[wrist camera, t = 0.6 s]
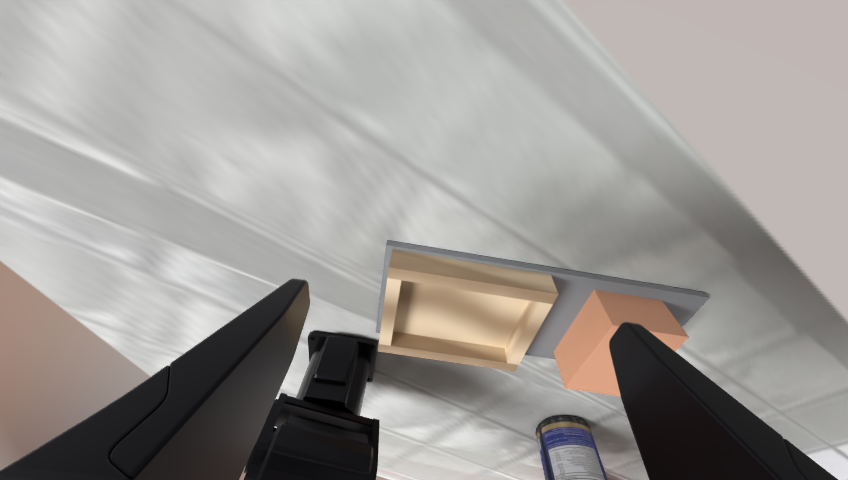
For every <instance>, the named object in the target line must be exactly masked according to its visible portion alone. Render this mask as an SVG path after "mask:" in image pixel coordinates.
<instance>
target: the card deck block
mask: <svg viewBox="0 0 848 480" xmlns="http://www.w3.org/2000/svg"><path fill="white" fill-rule="evenodd" d="M623 322H631V323H638V324H640V325H642V326H643V327H644V328H646V329H647V330H648V331H649V332H651V333H652V334H653V335H654V336H656V337H657V338H658V339H660V340H661V341H662V342H663V343H665V344H666V345H667V346H668V347H670V348H671V349H672V350H673V351H676V350H677V349H678V348H679V347H680V346H681V345H682V344H683V343H684V342H685V341H686V340H687V339H688V338H689V337H688V335H687V334H686V333H685V331H684V330H683V329H682V327H681V326H680V324H679V323H678V322H677V320H676V319H675V318H674V316H673V315H672V314H671V312H670V311H669V310H668V308H667V307H666V305H665V304H664V303H663V301H662V300H656V299H650V298H644V297H638V296H632V295H625V294H619V293H613V292H607V291H601V290H595V289H594V290H593V292H592V293H591V295H590V296H589V298H588V299H587V301H586V303H585V304H584V306H583V307H582V309H581V310H580V312H579V313H578V315H577V316H576V318H575V320H574V321H573V323H572V324H571V326H570V327H569V329H568V330H567V332H566V333H565V335H564V336H563V338H562V340H561V341H560V343H559V344H558V346H557V347H556V349H555V350H554V355H555V358H556V361H557V365H558V368H559V371H560V374H561V377H562V381H563V384H564V387H565V388H567V389H574V390H581V391H588V392H595V393H602V394H608V395H615V396H621V395H620V391H619V387H618V383H617V379H616V375H615V370H614V366H613V362H612V358H611V354H610V349H609V341H610V339H611V337H612V336H613V334H614V333H615V332H616V330H617V329H618V327H619V326H620V325H621V324H622V323H623Z"/></svg>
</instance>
